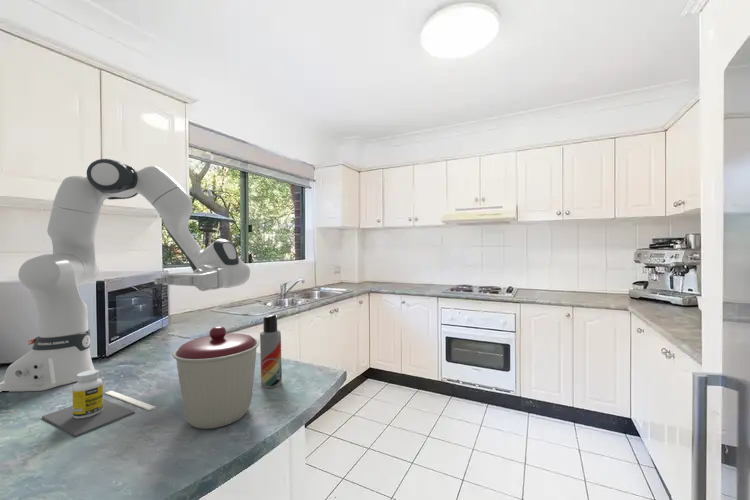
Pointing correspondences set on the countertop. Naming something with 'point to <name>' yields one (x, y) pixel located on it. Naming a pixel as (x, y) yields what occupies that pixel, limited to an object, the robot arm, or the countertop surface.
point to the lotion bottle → (270, 353)
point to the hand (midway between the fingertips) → (164, 281)
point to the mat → (85, 425)
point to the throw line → (130, 400)
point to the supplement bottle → (87, 395)
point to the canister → (216, 377)
